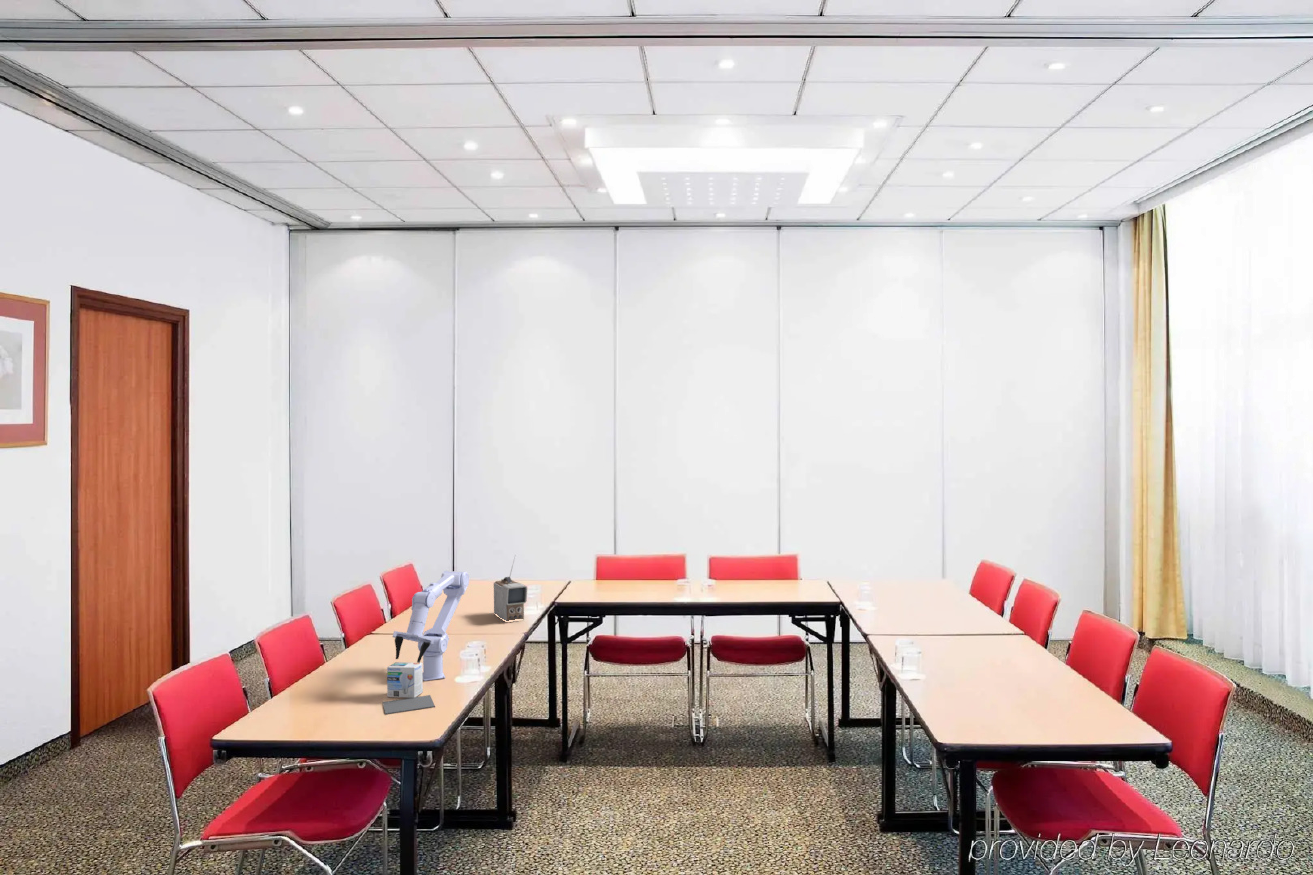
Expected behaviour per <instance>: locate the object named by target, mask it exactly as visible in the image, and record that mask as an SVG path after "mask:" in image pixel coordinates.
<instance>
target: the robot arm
mask: <svg viewBox="0 0 1313 875" xmlns="http://www.w3.org/2000/svg"><path fill="white" fill-rule="evenodd" d="M469 583H470V575H469V573H468V571H457V570H455V571H453V570H452V571H450V570H444V571H443V572H442V573H441V575H440V579H438V580H437V582H430V583H429V585H428V586H427V587H425V588H423V589H422V590H421V591H417V592H415V593H414V594H413V596H412V598H411V603H412V604H411V615H410V617H409V618H410V619H409V623H408V627H407V630H406V632H403V631H397V630H394V631H393V634H392V638H394V645H395V660H398V659H399V657H400V654H401V649H402V645H403V641H404V640H407V641H411V642H415V643H417V649H418V651H419V654H418V657H417V660H416V663H421V661H422V660H423V661H422V674H423V681H424V682H425V681H427V682H428V681H434V680H439V679H440V680H441V679H445V678H446V675H445V674H444V663H443V662H444V660H443V656H444V655H443V654H445V653H446V651H447V648H448V643H449V641H450V637H449V634H448V633H447V632H446V631H447V629H448V627H449V625H450V623H451V622H452V618H453V616H454V614H455V611H456V609H458V605H459V603H460V601H461V598H462V596H463V595H464V594H465V592H466V591H467V588H468V587H469ZM442 594H444V595H446V598H445V601H444V602H443V605H442V606H441V609H440V611H439V613H438V616H437V617H436V619H435V622H434V624H433V625H432V627H431V628H429V629H427V630H426V631H425V627H426V622H427V619H428V616H429V611H430V608H433V607H434V604H435V602H436V600H437V599H438V598H439V597H440V596H441V595H442Z"/></svg>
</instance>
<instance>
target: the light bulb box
mask: <svg viewBox="0 0 1313 875" xmlns="http://www.w3.org/2000/svg"><path fill="white" fill-rule="evenodd" d="M386 670H387V671H386V673H387V674H386V677H387V679H386V682H387V683H386V684H387V685H386V686H387V688H386V694H387V698H403V699H406V698H415V697H419V696H420V694H421V695H422V693H423V690H424V689H423V688H424V687H423V686H424V684H423V681H424V680H423V674H422V673H423V662H420V663H417V662H403V661H402V662H397V661H396V662H393V663H392V664H391V665H389V666H387V667H386Z"/></svg>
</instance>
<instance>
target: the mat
mask: <svg viewBox="0 0 1313 875" xmlns="http://www.w3.org/2000/svg"><path fill="white" fill-rule="evenodd" d="M434 703H435V702H434V700H433V699H432V696H431V694H428V695H422V696H420V695H419V696H416V697H415V698H400V699H393V700H386V701H382V706H383V709H384V714H385V715H392V714H397V713H406V712H410V711H413V712H414V711H418V710H425V709H432V708H435V707H436V706H435V705H436V704H434Z"/></svg>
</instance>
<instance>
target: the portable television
mask: <svg viewBox="0 0 1313 875" xmlns="http://www.w3.org/2000/svg"><path fill="white" fill-rule="evenodd" d="M513 557H514V559H513V562H512V566H511V570H510V573H509V576H505V577H504V578H503V579H502V578H501V580H497V581H495V582H493V614H494V613H495V614H497V615H498V616H499V617H500V618H502V619H504V620H506V621H509V620H515V619H524V620H525V604H526V603H527V602H528V586H526V585H524V584H522V583H520V582H518V581H514V580H513V579H512V578H511V575H512V572H513V566H514V563H515V559H516V554H514V556H513Z"/></svg>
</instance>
